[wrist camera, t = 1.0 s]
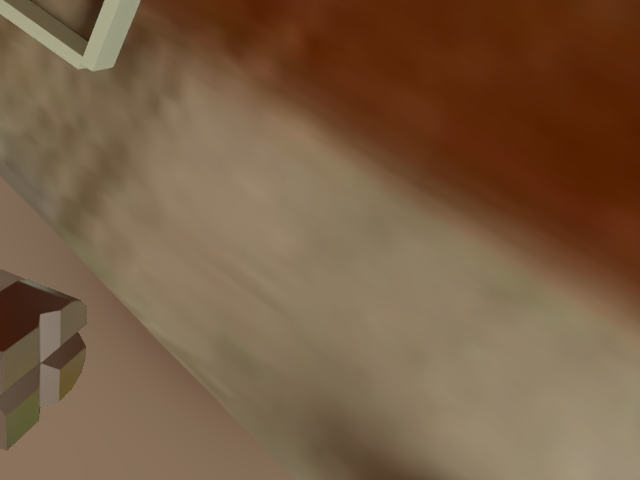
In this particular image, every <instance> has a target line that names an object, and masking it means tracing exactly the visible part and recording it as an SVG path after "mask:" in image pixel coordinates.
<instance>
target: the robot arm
mask: <svg viewBox="0 0 640 480" xmlns="http://www.w3.org/2000/svg"><path fill="white" fill-rule="evenodd" d="M86 324H87V306H86V305H85V304H84V303H83V302H82V301H81V300H79V299H76V298H74V297H71V296H69V295H66V294H64V293H61V292H59V291H56V290H54V289H51V288H49V287H46V286H43V285H41V284H38V283H36V282H33V281H31V280H26V279H24V278H22V277H19V276H17V275H14V274H12V273H9V272H7V271H4V270H0V448H1V449H4V450H6V451H7V450H8V449H9V448H10V447H11V446H12V445H13V444H15V443H16V442H17V441H18V440H19V439H20V438H21V437H22V436H23V435H24V434H25V433H26V432H27V431H28V430H30V429H31V428H32V427H33V426H34V425H35V424H36V423H37V422H38V421H39V414H40V408H41V407H44V406H47V405H50V404H54V403H57V402H59V401H60V400H61V399H62V398H63V397H64V396H65V395H66V394H67V393H68V392H69V391H70V390H71V389H72V388H73V386H74V384H75V383H76V381H77V379H78V378H79V376H80V374H81V372H82V369H83V366H84V362H85V356H86V346H85V344H84V342H83V340H82V339H81V336H80V335H79V333H78V331H80V330H81V329H82V328H83V327H84V326H85V325H86Z"/></svg>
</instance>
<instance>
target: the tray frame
mask: <svg viewBox="0 0 640 480" xmlns="http://www.w3.org/2000/svg"><path fill="white" fill-rule="evenodd" d="M140 1H141V0H104V3H103V6H102V8H101V11H100V13H99V16H98V19H97V21H96V24H95V27H94V29H93V32H92V34H91V37H90V40H89V42H88V41H86V40H85V39H83V38H82V37H81V36H79V35H78V34H76V33H75V32H74V31H72V30H71V29H69V28H68V27H66V26H65V25H64V24H62V23H61V22H59V21H58V20H57V19H55V18H54V17H52V16H51V15H50V14H48V13H47V12H45V11H44V10H43V9H41V8H40V7H38V6H37V5H36V4H34V3H33V2H31V1H30V0H0V14H1V15H3V16H4V17H5V18H7V19H8V20H10V21H11V22H12V23H14V24H15V25H17V26H18V27H19V28H21V29H22V30H24V31H25V32H26V33H28V34H29V35H31V36H32V37H34V38H35V39H36V40H38V41H39V42H41V43H42V44H43V45H45V46H46V47H48V48H49V49H50V50H52V51H53V52H55V53H56V54H57V55H59V56H60V57H62V58H63V59H64V60H66V61H67V62H69V63H70V64H71V65H73V66H74V67H76V68H77V69H82V68H88V69H89V70H91V71H97V70H102V69H107V68H112V67H113V66H114V64H115V61H116V59H117V57H118V54H119V52H120V49H121V47H122V44H123V42H124V40H125V37H126V35H127V32H128V30H129V28H130V25H131V23H132V20H133V18H134V15H135V13H136V11H137V8H138V6H139V3H140Z"/></svg>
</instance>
